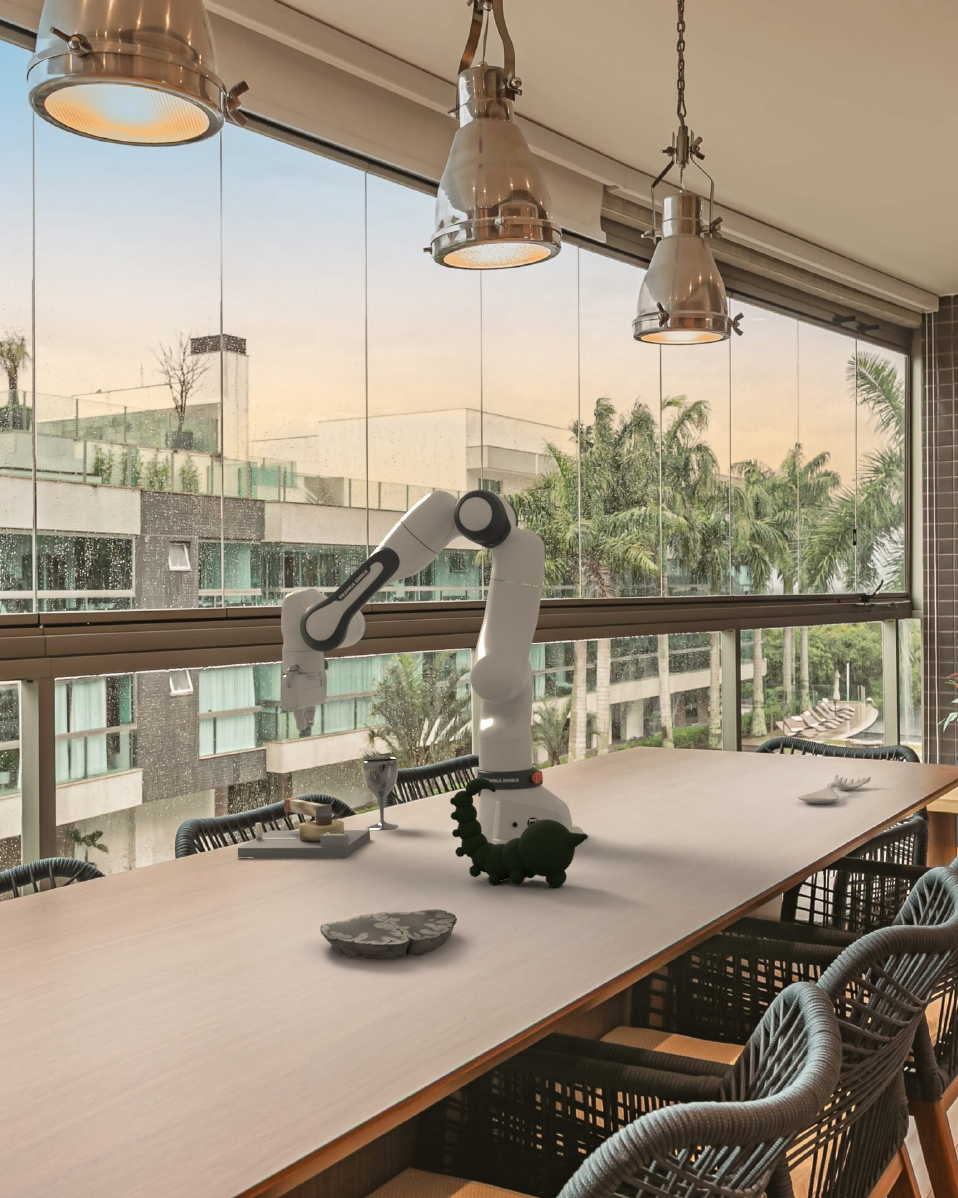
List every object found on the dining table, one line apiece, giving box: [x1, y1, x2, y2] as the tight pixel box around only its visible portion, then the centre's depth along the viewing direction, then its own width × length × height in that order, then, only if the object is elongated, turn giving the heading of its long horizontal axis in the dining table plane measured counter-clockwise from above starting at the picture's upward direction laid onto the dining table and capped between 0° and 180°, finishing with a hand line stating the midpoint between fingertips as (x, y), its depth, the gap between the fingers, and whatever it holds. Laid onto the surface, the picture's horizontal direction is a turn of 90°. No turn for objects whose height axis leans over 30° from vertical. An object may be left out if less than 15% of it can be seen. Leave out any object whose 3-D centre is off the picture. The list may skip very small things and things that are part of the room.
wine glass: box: [361, 756, 399, 831], centre depth 251 cm, size 8×8×15 cm
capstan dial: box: [283, 797, 345, 841], centre depth 233 cm, size 17×9×6 cm, turn 40°
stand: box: [237, 822, 371, 859], centre depth 230 cm, size 22×18×5 cm
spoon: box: [796, 774, 871, 805], centre depth 269 cm, size 9×32×4 cm, turn 144°
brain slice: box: [320, 909, 458, 960], centre depth 159 cm, size 20×17×3 cm
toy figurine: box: [449, 777, 589, 888], centre depth 193 cm, size 9×19×25 cm
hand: (305, 728), depth 245 cm, fingers open, 4 cm apart
